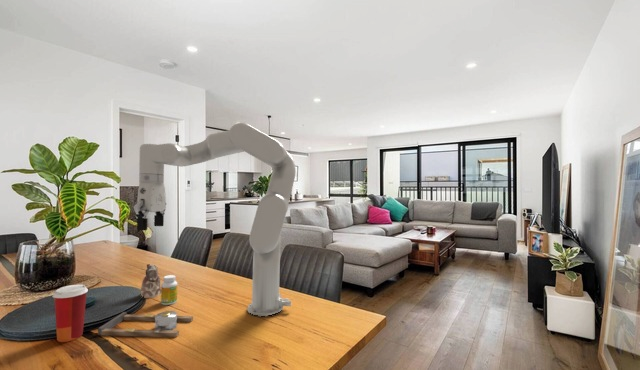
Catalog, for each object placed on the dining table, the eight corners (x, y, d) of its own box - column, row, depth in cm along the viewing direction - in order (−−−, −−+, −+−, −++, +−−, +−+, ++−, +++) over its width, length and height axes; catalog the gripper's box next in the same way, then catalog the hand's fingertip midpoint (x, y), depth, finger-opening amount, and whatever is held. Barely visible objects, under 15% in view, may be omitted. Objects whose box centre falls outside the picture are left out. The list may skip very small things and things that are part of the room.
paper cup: (85, 327, 90) (86, 282, 90) (88, 337, 85) (89, 288, 85) (50, 336, 85) (51, 288, 85) (52, 347, 79) (53, 295, 79)
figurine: (145, 299, 112) (145, 268, 112) (137, 295, 117) (137, 264, 117) (164, 294, 118) (164, 264, 118) (156, 290, 122) (156, 261, 122)
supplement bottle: (170, 306, 107) (170, 279, 107) (157, 304, 108) (158, 278, 108) (180, 300, 112) (180, 275, 112) (167, 299, 114) (168, 273, 114)
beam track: (193, 319, 97) (193, 313, 97) (176, 337, 86) (176, 330, 86) (123, 318, 97) (123, 311, 97) (97, 335, 86) (98, 328, 86)
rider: (180, 323, 94) (180, 310, 94) (170, 333, 88) (170, 318, 88) (161, 323, 94) (161, 309, 94) (150, 332, 88) (150, 318, 88)
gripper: (147, 179, 95) (146, 232, 95) (174, 180, 112) (174, 224, 112) (124, 178, 95) (123, 231, 95) (155, 179, 112) (154, 224, 112)
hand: (150, 228), depth 104 cm, fingers open, 9 cm apart
